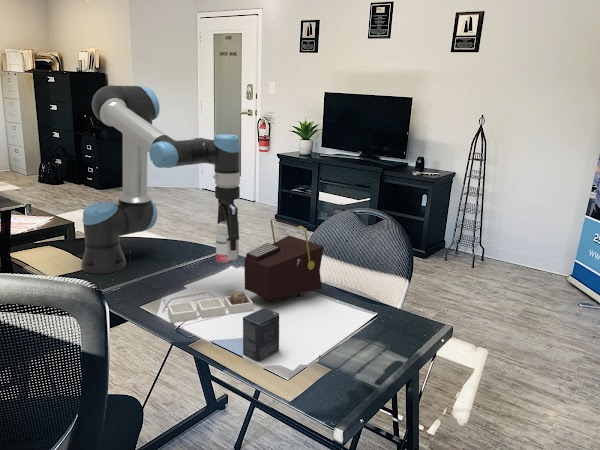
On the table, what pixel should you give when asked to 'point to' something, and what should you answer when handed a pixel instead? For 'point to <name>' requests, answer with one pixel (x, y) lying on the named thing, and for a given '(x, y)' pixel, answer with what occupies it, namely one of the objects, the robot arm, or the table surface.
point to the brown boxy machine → (283, 267)
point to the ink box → (223, 242)
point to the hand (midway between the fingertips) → (228, 254)
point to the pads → (164, 302)
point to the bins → (206, 309)
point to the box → (260, 334)
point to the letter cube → (238, 298)
